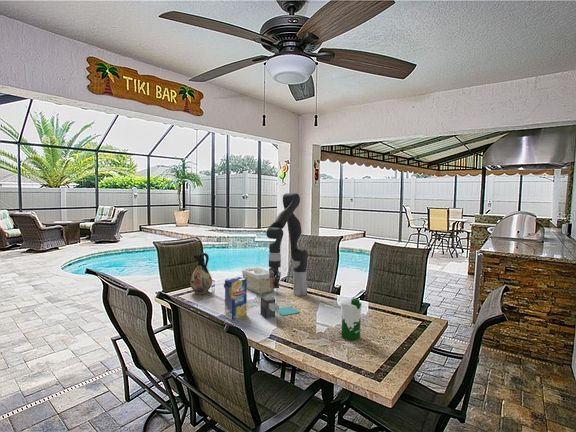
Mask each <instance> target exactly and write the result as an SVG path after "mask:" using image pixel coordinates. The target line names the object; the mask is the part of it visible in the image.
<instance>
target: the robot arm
mask: <svg viewBox="0 0 576 432" xmlns="http://www.w3.org/2000/svg"><path fill="white" fill-rule="evenodd" d="M300 203H301V197H300V194H298V193H296V192H294V193H293V192H291V193H289V192H288V193H287V192H286V193H284V194H283V195H282V204H283V205H282V206H283V208H284V209H283V210H282V211H281V212H280V213H278V215H277V216H276V218H275V220H274V222H272V223H271V224H270V225H269V226H268V228H267V229H266V231H265V232H266V234H265V235H266V237H267V238H268V239H271V240H275V241H274V242H269V246H268V249H269V250H268V267H269V268H268V270H269V275H270V278H271V277H273V278H274V281H275V282H274V287H275V289H277V288H276V287H278V281H279V282H280V281H281V275H282V272H280V271H279V268H281V266H282V264H281V261H282V259H281V258H282V254H281V245H282V240H283V237H284V231H283V229H284V228H285V226H286V224H287V230H288V231H287V232H288V236H289V244H290V245H289V246H290V256H291V260H293V261H294V262H297V263H299V265H295V266H293V270H292V271H293V274H292V276H293V277H292V278H293V282H292V283H293V284H292V285H293V286H292V287H293V288H292V290H293V291H292V294H293V296H296V297H303V296H306V295H307V294H308V281H307V268H308V251H307V250H306V249H303V248H298V241H299V239H300V237H301V235H302V231H303V230H302V226H301V221H300V220H299V218H298V217H297V216H296V215H295V213H294V212H295V210H296V209H297V208H298V206H300ZM278 278H279V279H278Z"/></svg>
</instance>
